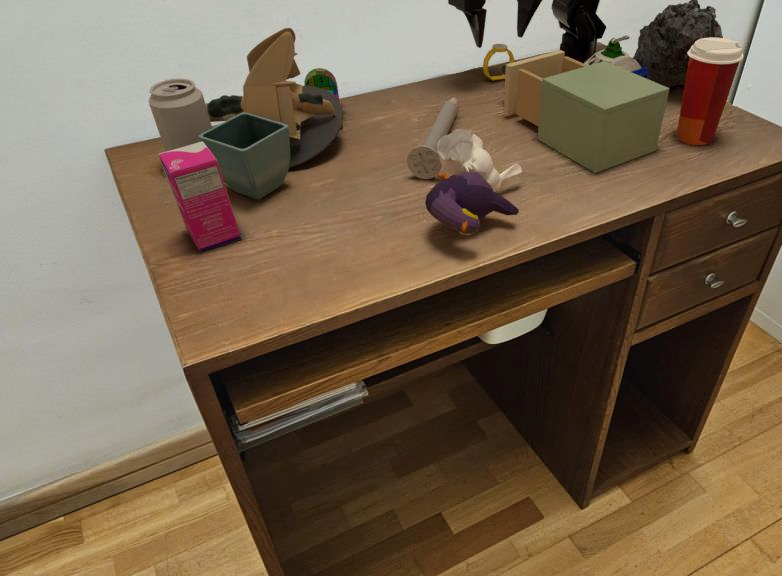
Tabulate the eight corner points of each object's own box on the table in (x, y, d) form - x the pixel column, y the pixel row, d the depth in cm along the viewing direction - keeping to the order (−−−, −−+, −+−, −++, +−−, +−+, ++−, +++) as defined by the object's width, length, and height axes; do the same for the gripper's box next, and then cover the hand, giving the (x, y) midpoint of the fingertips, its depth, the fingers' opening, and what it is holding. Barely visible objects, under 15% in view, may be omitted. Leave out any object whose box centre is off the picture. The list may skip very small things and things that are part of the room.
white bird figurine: (468, 171, 81) (505, 218, 88) (507, 127, 82) (541, 177, 88) (421, 151, 90) (458, 195, 97) (456, 110, 90) (490, 157, 97)
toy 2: (490, 239, 88) (524, 213, 83) (438, 257, 80) (472, 228, 75) (450, 172, 89) (481, 142, 84) (394, 182, 80) (425, 149, 76)
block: (293, 111, 113) (285, 71, 108) (340, 106, 114) (334, 66, 109) (293, 139, 104) (284, 97, 99) (343, 134, 105) (337, 92, 100)
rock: (714, 107, 111) (742, 14, 100) (633, 104, 112) (653, 10, 101) (695, 71, 123) (719, -17, 112) (623, 68, 123) (639, -19, 113)
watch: (487, 84, 120) (488, 51, 116) (480, 79, 122) (481, 46, 117) (515, 78, 122) (517, 45, 117) (508, 73, 123) (509, 41, 119)
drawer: (486, 102, 112) (487, 55, 106) (538, 87, 116) (541, 41, 111) (550, 138, 101) (555, 89, 96) (604, 120, 105) (612, 72, 100)
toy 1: (227, 101, 107) (178, 15, 94) (343, 77, 105) (309, -14, 92) (216, 182, 97) (160, 99, 84) (343, 157, 95) (306, 68, 82)
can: (230, 155, 101) (209, 78, 92) (203, 178, 96) (178, 98, 87) (190, 149, 103) (165, 73, 94) (160, 171, 97) (132, 92, 89)
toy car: (650, 96, 114) (661, 39, 107) (598, 111, 110) (606, 53, 103) (614, 79, 120) (623, 25, 113) (563, 93, 115) (569, 37, 109)
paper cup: (714, 127, 105) (739, 36, 95) (724, 149, 99) (751, 54, 90) (665, 126, 105) (685, 35, 96) (672, 147, 100) (694, 53, 90)
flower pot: (259, 211, 89) (243, 150, 82) (214, 195, 92) (195, 135, 86) (301, 183, 94) (289, 124, 88) (257, 169, 97) (243, 111, 91)
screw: (445, 118, 114) (471, 111, 112) (414, 182, 95) (445, 174, 93) (435, 90, 111) (462, 82, 109) (402, 151, 92) (434, 142, 90)
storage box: (537, 139, 103) (542, 78, 96) (596, 119, 108) (604, 60, 101) (595, 173, 95) (604, 109, 88) (656, 150, 99) (669, 88, 93)
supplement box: (185, 233, 85) (156, 151, 77) (229, 219, 87) (205, 139, 79) (197, 254, 81) (168, 171, 73) (243, 239, 84) (219, 157, 76)
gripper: (518, -73, 115) (514, 21, 126) (429, -58, 108) (433, 40, 118) (558, -63, 108) (550, 36, 119) (466, -46, 101) (466, 57, 112)
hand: (499, 42), depth 117 cm, fingers open, 9 cm apart
